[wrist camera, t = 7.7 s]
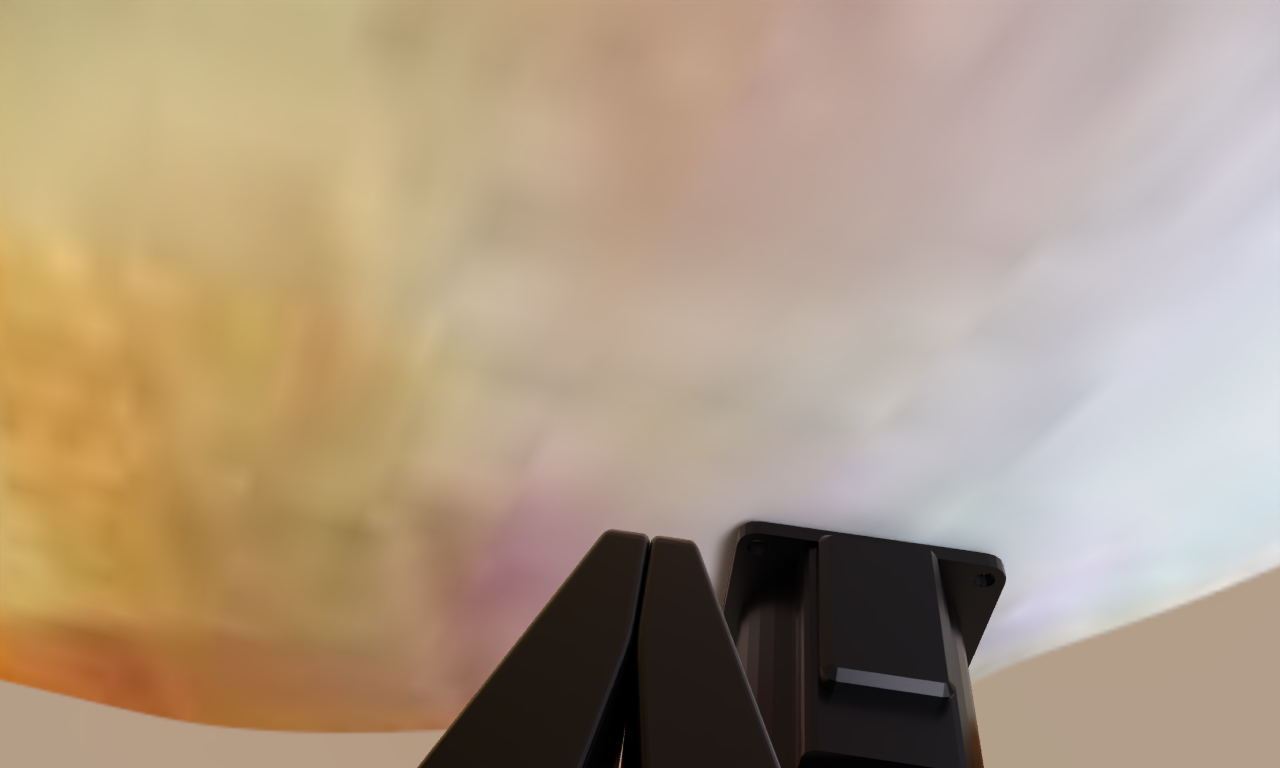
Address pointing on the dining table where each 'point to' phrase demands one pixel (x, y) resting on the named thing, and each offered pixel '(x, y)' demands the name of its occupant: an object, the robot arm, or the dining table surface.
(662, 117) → the dining table surface
